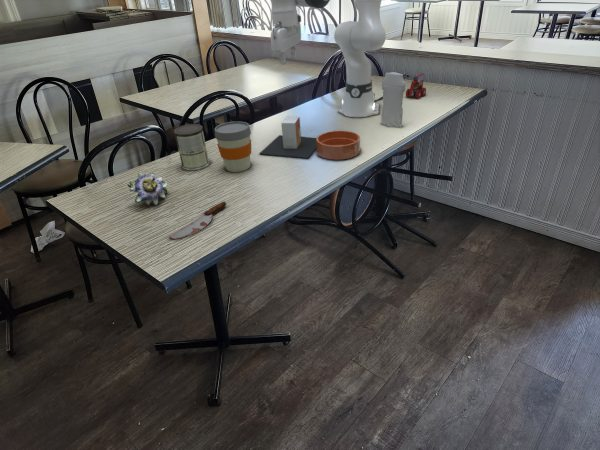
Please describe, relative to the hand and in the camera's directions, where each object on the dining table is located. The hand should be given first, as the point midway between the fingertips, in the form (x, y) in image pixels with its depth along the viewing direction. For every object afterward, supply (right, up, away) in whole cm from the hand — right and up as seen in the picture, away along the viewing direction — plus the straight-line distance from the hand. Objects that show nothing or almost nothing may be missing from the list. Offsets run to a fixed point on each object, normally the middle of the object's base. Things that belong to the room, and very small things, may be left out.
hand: (288, 61), depth 156 cm
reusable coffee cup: (-18, -40, -3) cm, 44 cm away
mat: (+2, -30, +10) cm, 32 cm away
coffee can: (-35, -39, +1) cm, 52 cm away
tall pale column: (+44, -18, +24) cm, 53 cm away
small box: (+2, -30, +10) cm, 32 cm away
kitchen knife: (-24, -61, -35) cm, 74 cm away
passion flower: (-44, -53, -21) cm, 72 cm away
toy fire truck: (+64, +4, +58) cm, 86 cm away
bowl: (+19, -34, +3) cm, 39 cm away
